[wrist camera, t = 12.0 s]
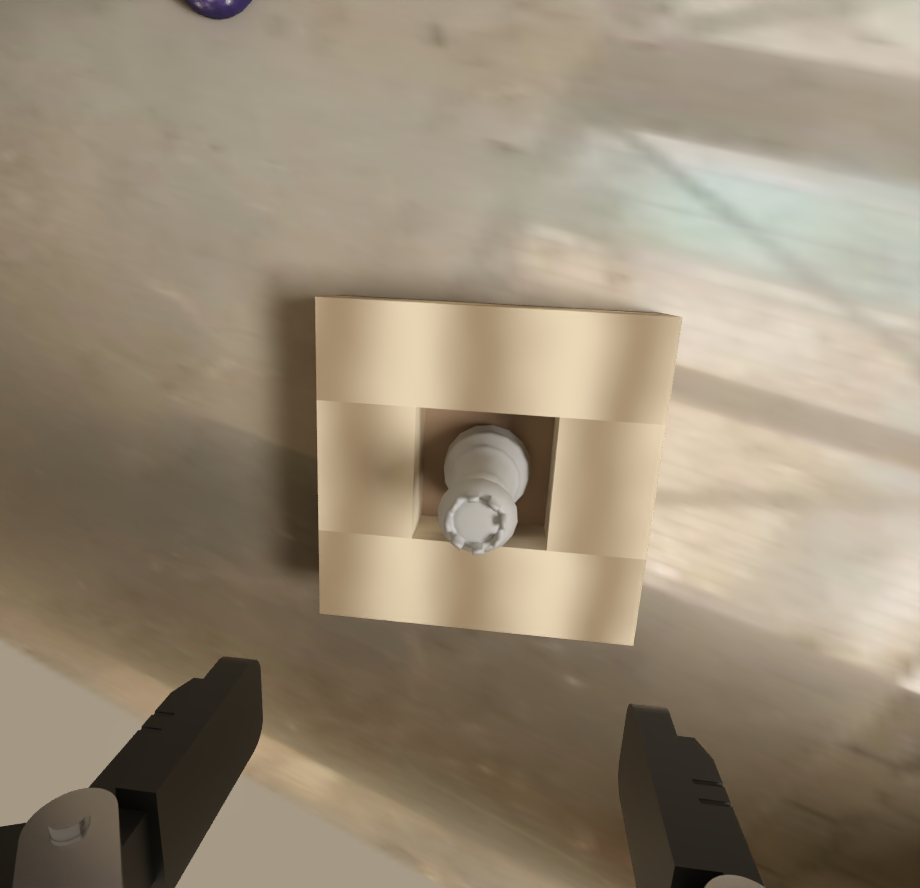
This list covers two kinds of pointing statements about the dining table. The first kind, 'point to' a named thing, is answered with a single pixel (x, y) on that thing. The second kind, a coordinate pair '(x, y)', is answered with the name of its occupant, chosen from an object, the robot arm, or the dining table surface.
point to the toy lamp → (218, 7)
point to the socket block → (506, 406)
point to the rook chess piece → (483, 488)
